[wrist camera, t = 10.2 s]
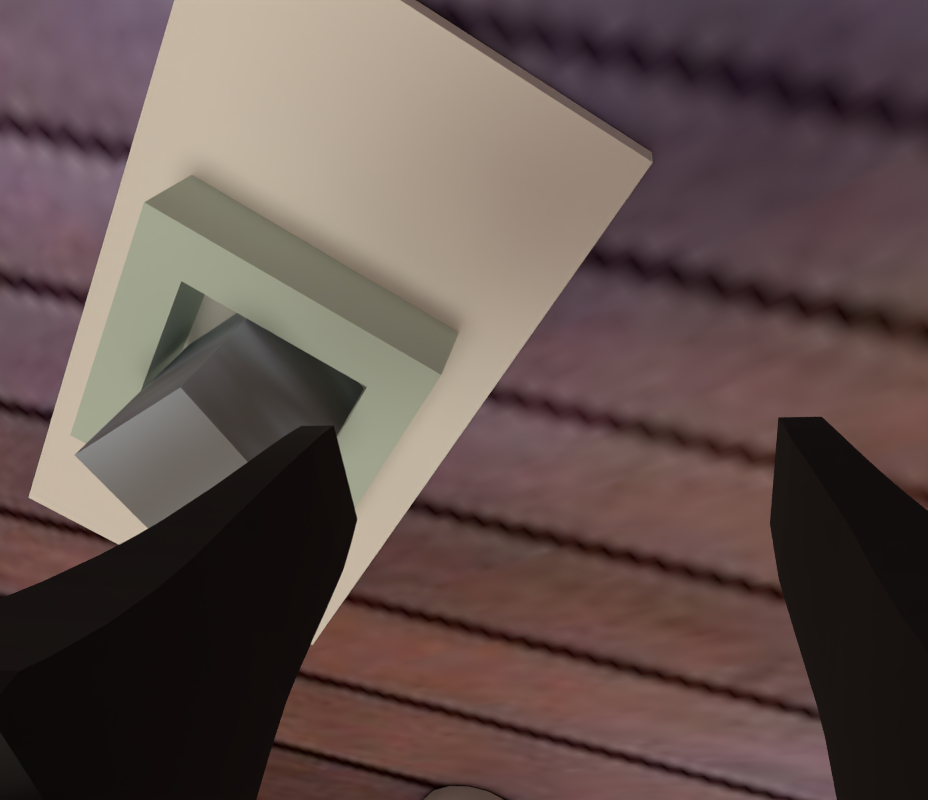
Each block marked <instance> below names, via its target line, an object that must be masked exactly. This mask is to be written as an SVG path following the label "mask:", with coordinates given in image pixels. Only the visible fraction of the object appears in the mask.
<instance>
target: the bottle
mask: <svg viewBox="0 0 928 800" xmlns="http://www.w3.org/2000/svg"><path fill="white" fill-rule="evenodd" d="M424 800H503V799H502V798H500V797H498V796H496V795H494V794H492V793H490V792H488V791H485V790H481V789H477V788H473V787H469V786H448V787H444V788H441V789H437V790H434V791H432V792H431V793H430V794H429V795H428V796H427V797H426V798H425V799H424Z"/></svg>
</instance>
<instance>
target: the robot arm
mask: <svg viewBox="0 0 928 800" xmlns="http://www.w3.org/2000/svg"><path fill="white" fill-rule="evenodd" d="M356 523H357V515H356V511H355V507H354V503H353V499H352V495H351V491H350V487H349V483H348V479H347V475H346V471H345V467H344V463H343V459H342V455H341V451H340V447H339V444H338V440H337V436H336V432H335V428H334V425H327V426H300V427H299V428H297V429H295V430H293V431H292V432H290V433H288V434H287V435H285V436H284V437H282V438H281V439H279V440H278V441H277V442H275V443H274V444H272V445H271V446H269V447H268V448H267V449H265V450H264V451H262V452H261V453H260V454H258V455H257V456H255V457H254V458H253V459H251V460H250V461H249V462H247V463H246V464H244V465H243V466H242V467H240V468H239V469H237V470H236V471H235V472H233V473H232V474H230V475H229V476H228V477H226V478H225V479H223V480H222V481H220V482H219V483H218V484H216V485H215V486H213V487H212V488H210V489H209V490H207V491H206V492H204V493H203V494H201V495H200V496H198V497H197V498H195V499H194V500H192V501H191V502H189V503H188V504H186V505H185V506H183V507H182V508H180V509H179V510H177V511H176V512H174V513H172V514H171V515H169V516H168V517H166V518H165V519H163V520H162V521H160V522H158V523H157V524H155V525H153V526H152V527H150V528H148V529H146V530H145V531H143V532H141V533H140V534H138V535H136V536H134V537H132V538H130V539H129V540H127V541H125V542H123V543H121V544H119V545H118V546H116V547H114V548H112V549H110V550H108V551H106V552H104V553H102V554H101V555H99V556H96V557H94V558H92V559H90V560H88V561H86V562H84V563H81V564H79V565H77V566H75V567H73V568H71V569H69V570H66V571H64V572H62V573H60V574H58V575H56V576H53V577H51V578H49V579H47V580H45V581H43V582H40V583H38V584H36V585H33V586H31V587H28V588H26V589H23V590H21V591H18V592H16V593H13V594H11V595H8V596H6V597H3V598H0V800H256V798H257V795H258V792H259V788H260V785H261V781H262V778H263V774H264V771H265V768H266V764H267V761H268V757H269V754H270V751H271V748H272V745H273V741H274V738H275V735H276V732H277V729H278V726H279V723H280V720H281V717H282V713H283V710H284V707H285V704H286V701H287V699H288V696H289V694H290V691H291V689H292V686H293V683H294V681H295V678H296V676H297V674H298V671H299V669H300V667H301V665H302V663H303V660H304V658H305V656H306V654H307V651H308V649H309V647H310V645H311V642H312V640H313V638H314V636H315V634H316V631H317V629H318V627H319V625H320V622H321V620H322V618H323V616H324V613H325V611H326V609H327V607H328V604H329V602H330V600H331V598H332V595H333V593H334V591H335V588H336V586H337V584H338V582H339V579H340V577H341V574H342V572H343V570H344V566H345V563H346V560H347V556H348V553H349V550H350V546H351V542H352V538H353V535H354V531H355V527H356ZM770 526H771V532H772V539H773V546H774V552H775V558H776V564H777V570H778V576H779V581H780V584H781V588H782V591H783V595H784V598H785V602H786V605H787V608H788V612H789V615H790V618H791V622H792V625H793V628H794V632H795V635H796V638H797V641H798V645H799V648H800V651H801V654H802V658H803V661H804V664H805V668H806V671H807V674H808V677H809V681H810V684H811V687H812V691H813V694H814V697H815V700H816V704H817V707H818V711H819V715H820V719H821V723H822V727H823V731H824V735H825V739H826V745H827V750H828V755H829V760H830V766H831V771H832V776H833V781H834V787H835V792H836V797H837V800H928V511H927V510H926V509H925V508H924V507H922V506H921V505H920V504H919V503H917V502H916V501H915V500H914V499H912V498H911V497H910V496H909V495H907V494H906V493H905V492H904V491H903V490H901V489H900V488H899V487H898V486H897V485H896V484H894V483H893V482H892V481H891V480H890V479H889V478H887V477H886V476H885V475H884V474H883V473H882V472H880V471H879V470H878V469H877V468H876V467H875V466H874V465H873V464H872V463H871V462H869V461H868V460H867V459H866V458H865V457H864V456H863V455H862V454H861V453H860V452H859V451H858V450H857V449H855V448H854V447H853V446H852V445H851V444H850V443H849V442H848V441H847V440H846V439H845V438H844V437H843V436H842V435H841V434H840V433H838V432H837V431H836V430H835V429H834V428H833V427H832V426H831V425H830V424H829V423H828V422H827V421H826V420H825V419H823V418H822V417H784V418H778V430H777V443H776V455H775V468H774V481H773V493H772V506H771V518H770Z"/></svg>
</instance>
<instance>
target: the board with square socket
mask: <svg viewBox="0 0 928 800" xmlns="http://www.w3.org/2000/svg"><path fill="white" fill-rule="evenodd" d="M652 163H653V160H652V152H651V151H649V150H648V149H646V148H644V147H643V146H641V145H640V144H638V143H637V142H635V141H634V140H632V139H630V138H629V137H627V136H626V135H624V134H623V133H621V132H620V131H618V130H617V129H615V128H613V127H612V126H610V125H609V124H607V123H606V122H604V121H603V120H601V119H599V118H598V117H596V116H595V115H593V114H592V113H590V112H589V111H587V110H585V109H584V108H582V107H581V106H579V105H578V104H576V103H575V102H573V101H572V100H570V99H568V98H567V97H565V96H564V95H562V94H561V93H559V92H558V91H556V90H554V89H553V88H551V87H550V86H548V85H547V84H545V83H544V82H542V81H540V80H539V79H537V78H536V77H534V76H533V75H531V74H530V73H528V72H527V71H525V70H523V69H522V68H520V67H519V66H517V65H516V64H514V63H513V62H511V61H509V60H508V59H506V58H505V57H503V56H502V55H500V54H499V53H497V52H496V51H494V50H492V49H491V48H489V47H488V46H486V45H485V44H483V43H482V42H480V41H478V40H477V39H475V38H474V37H472V36H471V35H469V34H468V33H466V32H464V31H463V30H461V29H460V28H458V27H457V26H455V25H454V24H452V23H451V22H449V21H447V20H446V19H444V18H443V17H441V16H440V15H438V14H437V13H435V12H433V11H432V10H430V9H429V8H427V7H426V6H424V5H423V4H421V3H419V2H418V1H416V0H174V4H173V7H172V10H171V14H170V17H169V21H168V24H167V28H166V31H165V34H164V38H163V41H162V45H161V48H160V51H159V55H158V58H157V62H156V65H155V68H154V72H153V75H152V79H151V82H150V85H149V89H148V92H147V96H146V99H145V103H144V106H143V109H142V113H141V116H140V120H139V123H138V126H137V130H136V133H135V137H134V140H133V143H132V147H131V150H130V154H129V157H128V160H127V164H126V167H125V171H124V174H123V178H122V181H121V184H120V188H119V191H118V195H117V198H116V201H115V205H114V208H113V212H112V215H111V218H110V222H109V225H108V229H107V232H106V235H105V239H104V242H103V246H102V249H101V253H100V256H99V259H98V263H97V266H96V270H95V273H94V276H93V280H92V283H91V287H90V290H89V293H88V297H87V300H86V304H85V307H84V310H83V314H82V317H81V321H80V324H79V327H78V331H77V334H76V338H75V341H74V345H73V348H72V351H71V355H70V358H69V362H68V365H67V368H66V372H65V375H64V379H63V382H62V385H61V389H60V392H59V396H58V399H57V402H56V406H55V409H54V413H53V416H52V420H51V423H50V426H49V430H48V433H47V437H46V440H45V443H44V447H43V450H42V454H41V457H40V460H39V464H38V467H37V471H36V474H35V477H34V481H33V484H32V488H31V491H30V495H29V498H30V499H32V500H34V501H36V502H38V503H40V504H42V505H44V506H46V507H48V508H50V509H52V510H54V511H55V512H57V513H59V514H61V515H63V516H65V517H67V518H69V519H71V520H73V521H75V522H77V523H78V524H80V525H82V526H84V527H86V528H88V529H90V530H92V531H94V532H96V533H98V534H100V535H102V536H103V537H105V538H107V539H109V540H111V541H113V542H115V543H117V544H121V543H123V542H125V541H127V540H129V539H130V538H132V537H134V536H136V535H138V534H140V533H141V532H143V531H145V530H146V529H148V528H147V527H146V526H145V525H144V524H143V523H142V522H141V521H140V520H139V519H138V518H137V517H136V516H135V515H134V514H133V513H132V512H131V511H130V510H129V509H128V508H127V507H126V506H125V505H124V504H123V503H122V502H121V501H120V500H119V499H118V498H117V497H116V496H115V495H114V494H113V493H112V492H111V491H110V490H109V489H108V488H107V487H106V486H105V485H104V484H103V483H102V482H101V481H100V480H99V479H98V478H97V477H96V476H95V475H94V474H93V473H92V472H91V471H90V470H89V469H88V468H87V467H86V466H85V465H84V464H83V463H82V462H81V461H80V460H79V459H78V458H77V457H76V456H75V454H76V453H77V452H78V451H79V450H80V449H81V448H82V447H83V446H84V445H85V444H86V443H87V442H88V441H89V440H90V439H92V438H93V437H94V436H95V435H96V434H97V433H98V432H99V431H100V430H101V429H102V428H103V427H104V426H105V425H106V424H107V423H108V422H109V421H110V420H111V419H112V418H113V417H114V416H115V415H117V414H118V413H119V412H120V411H121V410H122V409H123V408H124V407H125V406H126V405H127V404H128V403H129V402H130V401H131V400H132V399H133V398H134V397H135V396H136V395H137V394H138V393H139V392H140V391H141V390H143V389H144V388H145V387H146V386H147V385H148V384H149V383H150V382H151V381H152V380H153V379H154V378H155V377H156V376H157V375H158V374H159V373H160V372H161V371H162V370H163V369H164V368H165V367H166V366H168V365H169V364H170V363H171V362H172V361H173V360H174V359H175V358H176V357H177V356H178V355H179V354H180V353H181V352H182V351H183V350H184V349H185V348H186V347H187V346H188V345H189V344H191V343H192V342H194V341H195V340H197V339H198V338H200V337H201V336H203V335H204V334H206V333H207V332H209V331H210V330H212V329H213V328H215V327H216V326H218V325H219V324H221V323H222V322H224V321H225V320H227V319H228V318H230V317H231V316H233V315H234V314H236V313H238V314H240V315H242V316H243V317H245V318H247V319H249V320H250V321H252V322H254V323H256V324H257V325H259V326H261V327H263V328H264V329H266V330H268V331H270V332H271V333H273V334H275V335H277V336H278V337H280V338H282V339H284V340H285V341H287V342H289V343H291V344H292V345H294V346H296V347H298V348H299V349H301V350H303V351H305V352H306V353H308V354H310V355H312V356H313V357H315V358H317V359H319V360H320V361H322V362H324V363H326V364H328V365H329V366H331V367H333V368H335V369H336V370H338V371H340V372H342V373H343V374H345V375H347V376H349V377H350V378H352V379H354V380H356V381H357V382H359V383H360V384H361V386H362V387H363V388H364V390H363V391H362V393H361V395H360V397H359V398H358V400H357V402H356V404H355V405H354V407H353V409H352V411H351V412H350V414H349V416H348V418H347V419H346V421H345V423H344V425H343V426H342V428H341V430H340V432H339V433H338V435H337V440H338V444H339V447H340V451H341V455H342V459H343V463H344V467H345V471H346V475H347V479H348V483H349V487H350V491H351V495H352V499H353V503H354V507H355V511H356V515H357V523H356V527H355V531H354V535H353V538H352V542H351V546H350V550H349V553H348V556H347V560H346V563H345V566H344V570H343V572H342V574H341V577H340V579H339V582H338V584H337V586H336V588H335V591H334V593H333V595H332V598H331V600H330V602H329V604H328V607H327V609H326V611H325V613H324V616H323V618H322V620H321V622H320V625H319V627H318V629H317V631H316V634H315V636H314V638H313V640H312V642H311V645H313V643H314V642H315V641H316V639H317V638H318V636H319V635H320V633H321V632H322V631H323V629H324V628H325V626H326V625H327V624H328V622H329V621H330V619H331V618H332V616H333V615H334V614H335V612H336V611H337V609H338V608H339V607H340V605H341V604H342V602H343V601H344V599H345V598H346V597H347V595H348V594H349V592H350V591H351V590H352V588H353V587H354V585H355V584H356V582H357V581H358V580H359V578H360V577H361V575H362V574H363V573H364V571H365V570H366V568H367V567H368V565H369V564H370V563H371V561H372V560H373V558H374V557H375V555H376V554H377V553H378V551H379V550H380V548H381V547H382V546H383V544H384V543H385V541H386V540H387V538H388V537H389V536H390V534H391V533H392V531H393V530H394V529H395V527H396V526H397V524H398V523H399V521H400V520H401V519H402V517H403V516H404V514H405V513H406V512H407V510H408V509H409V507H410V506H411V504H412V503H413V502H414V500H415V499H416V497H417V496H418V495H419V493H420V492H421V490H422V489H423V487H424V486H425V485H426V483H427V482H428V480H429V479H430V478H431V476H432V475H433V473H434V472H435V470H436V469H437V468H438V466H439V465H440V463H441V462H442V461H443V459H444V458H445V456H446V455H447V453H448V452H449V451H450V449H451V448H452V446H453V445H454V444H455V442H456V441H457V439H458V438H459V436H460V435H461V434H462V432H463V431H464V429H465V428H466V426H467V425H468V424H469V422H470V421H471V419H472V418H473V417H474V415H475V414H476V412H477V411H478V409H479V408H480V407H481V405H482V404H483V402H484V401H485V400H486V398H487V397H488V395H489V394H490V392H491V391H492V390H493V388H494V387H495V385H496V384H497V383H498V381H499V380H500V378H501V377H502V375H503V374H504V373H505V371H506V370H507V368H508V367H509V366H510V364H511V363H512V361H513V360H514V358H515V357H516V356H517V354H518V353H519V351H520V350H521V349H522V347H523V346H524V344H525V343H526V341H527V340H528V339H529V337H530V336H531V334H532V333H533V332H534V330H535V329H536V327H537V326H538V324H539V323H540V322H541V320H542V319H543V317H544V316H545V315H546V313H547V312H548V310H549V309H550V307H551V306H552V305H553V303H554V302H555V300H556V299H557V297H558V296H559V295H560V293H561V292H562V290H563V289H564V288H565V286H566V285H567V283H568V282H569V280H570V279H571V278H572V276H573V275H574V273H575V272H576V271H577V269H578V268H579V266H580V265H581V263H582V262H583V261H584V259H585V258H586V256H587V255H588V254H589V252H590V251H591V249H592V248H593V246H594V245H595V244H596V242H597V241H598V239H599V238H600V237H601V235H602V234H603V232H604V231H605V229H606V228H607V227H608V225H609V224H610V222H611V221H612V220H613V218H614V217H615V215H616V214H617V212H618V211H619V210H620V208H621V207H622V205H623V204H624V203H625V201H626V200H627V198H628V197H629V195H630V194H631V193H632V191H633V190H634V188H635V187H636V186H637V184H638V183H639V181H640V180H641V178H642V177H643V176H644V174H645V173H646V171H647V170H648V168H649V167H650V166H651V164H652Z"/></svg>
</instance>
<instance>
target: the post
mask: <svg viewBox="0 0 928 800" xmlns="http://www.w3.org/2000/svg"><path fill="white" fill-rule="evenodd" d="M363 390H364V388H363V387H362V386H361V384H360V383H359V382H357V381H356V380H354V379H352V378H350V377H349V376H347V375H345V374H343V373H342V372H340V371H338V370H336V369H335V368H333V367H331V366H329V365H328V364H326V363H324V362H322V361H320V360H319V359H317V358H315V357H313V356H312V355H310V354H308V353H306V352H305V351H303V350H301V349H299V348H298V347H296V346H294V345H292V344H291V343H289V342H287V341H285V340H284V339H282V338H280V337H278V336H277V335H275V334H273V333H271V332H270V331H268V330H266V329H264V328H263V327H261V326H259V325H257V324H256V323H254V322H252V321H250V320H249V319H247V318H245V317H243V316H242V315H240V314H238V313H236V314H234V315H233V316H231V317H230V318H228V319H227V320H225V321H224V322H222V323H221V324H219V325H218V326H216V327H215V328H213V329H212V330H210V331H209V332H207V333H206V334H204V335H203V336H201V337H200V338H198V339H197V340H195V341H194V342H192V343H191V344H189V345H188V346H187V347H186V348H185V349H184V350H183V351H182V352H181V353H180V354H179V355H178V356H177V357H176V358H175V359H174V360H173V361H172V362H171V363H170V364H169V365H168V366H166V367H165V368H164V369H163V370H162V371H161V372H160V373H159V374H158V375H157V376H156V377H155V378H154V379H153V380H152V381H151V382H150V383H149V384H148V385H147V386H146V387H145V388H144V389H143V390H141V391H140V392H139V393H138V394H137V395H136V396H135V397H134V398H133V399H132V400H131V401H130V402H129V403H128V404H127V405H126V406H125V407H124V408H123V409H122V410H121V411H120V412H119V413H118V414H117V415H115V416H114V417H113V418H112V419H111V420H110V421H109V422H108V423H107V424H106V425H105V426H104V427H103V428H102V429H101V430H100V431H99V432H98V433H97V434H96V435H95V436H94V437H93V438H92V439H90V440H89V441H88V442H87V443H86V444H85V445H84V446H83V447H82V448H81V449H80V450H79V451H78V452H77V453H76V454H75V456H76V457H77V458H78V459H79V460H80V461H81V462H82V463H83V464H84V465H85V466H86V467H87V468H88V469H89V470H90V471H91V472H92V473H93V474H94V475H95V476H96V477H97V478H98V479H99V480H100V481H101V482H102V483H103V484H104V485H105V486H106V487H107V488H108V489H109V490H110V491H111V492H112V493H113V494H114V495H115V496H116V497H117V498H118V499H119V500H120V501H121V502H122V503H123V504H124V505H125V506H126V507H127V508H128V509H129V510H130V511H131V512H132V513H133V514H134V515H135V516H136V517H137V518H138V519H139V520H140V521H141V522H142V523H143V524H144V525H145V526H146V527H147V528H150V527H152V526H153V525H155V524H157V523H158V522H160V521H162V520H163V519H165V518H166V517H168V516H169V515H171V514H172V513H174V512H176V511H177V510H179V509H180V508H182V507H183V506H185V505H186V504H188V503H189V502H191V501H192V500H194V499H195V498H197V497H198V496H200V495H201V494H203V493H204V492H206V491H207V490H209V489H210V488H212V487H213V486H215V485H216V484H218V483H219V482H220V481H222V480H223V479H225V478H226V477H228V476H229V475H230V474H232V473H233V472H235V471H236V470H237V469H239V468H240V467H242V466H243V465H244V464H246V463H247V462H249V461H250V460H251V459H253V458H254V457H255V456H257V455H258V454H260V453H261V452H262V451H264V450H265V449H267V448H268V447H269V446H271V445H272V444H274V443H275V442H277V441H278V440H279V439H281V438H282V437H284V436H285V435H287V434H288V433H290V432H292V431H293V430H295V429H297V428H299V427H300V426H327V425H334V428H335V432H336V436H337V435H338V433H339V432H340V430H341V428H342V426H343V425H344V423H345V421H346V419H347V418H348V416H349V414H350V412H351V411H352V409H353V407H354V405H355V404H356V402H357V400H358V398H359V397H360V395H361V393H362V391H363Z"/></svg>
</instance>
